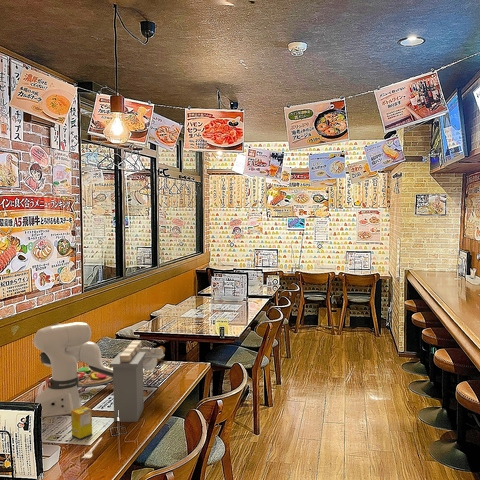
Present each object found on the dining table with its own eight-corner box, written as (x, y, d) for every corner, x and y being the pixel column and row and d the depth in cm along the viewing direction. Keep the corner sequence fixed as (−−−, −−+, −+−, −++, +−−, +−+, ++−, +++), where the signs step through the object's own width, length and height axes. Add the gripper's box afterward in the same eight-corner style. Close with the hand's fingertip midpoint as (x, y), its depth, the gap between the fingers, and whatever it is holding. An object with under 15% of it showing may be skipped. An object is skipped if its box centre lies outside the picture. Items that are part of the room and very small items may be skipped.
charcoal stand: (120, 407, 238) (119, 352, 236) (146, 407, 237) (145, 352, 236) (110, 423, 220) (109, 363, 218) (138, 423, 219) (137, 363, 218)
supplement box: (84, 431, 212) (83, 405, 211) (92, 435, 208) (92, 409, 208) (71, 436, 207) (70, 410, 207) (79, 440, 204) (79, 413, 203)
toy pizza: (57, 388, 265) (56, 380, 265) (72, 371, 293) (72, 364, 293) (111, 387, 266) (110, 379, 266) (121, 370, 294) (121, 363, 293)
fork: (105, 439, 206) (105, 435, 206) (87, 462, 186) (87, 457, 186) (97, 439, 207) (97, 434, 206) (79, 462, 187) (79, 457, 187)
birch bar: (133, 346, 246) (133, 340, 246) (141, 346, 246) (141, 340, 246) (119, 362, 220) (119, 355, 220) (129, 362, 220) (129, 355, 220)
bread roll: (162, 364, 305) (162, 350, 305) (146, 364, 305) (145, 350, 305) (165, 357, 318) (165, 345, 317) (150, 357, 318) (149, 345, 318)
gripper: (165, 362, 259) (160, 355, 247) (124, 362, 260) (118, 355, 247) (165, 350, 262) (161, 342, 250) (126, 350, 262) (119, 342, 250)
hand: (139, 349), depth 249 cm, fingers open, 8 cm apart
